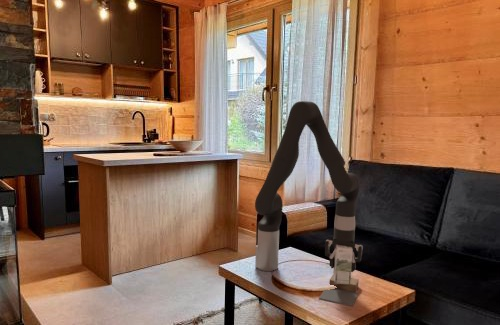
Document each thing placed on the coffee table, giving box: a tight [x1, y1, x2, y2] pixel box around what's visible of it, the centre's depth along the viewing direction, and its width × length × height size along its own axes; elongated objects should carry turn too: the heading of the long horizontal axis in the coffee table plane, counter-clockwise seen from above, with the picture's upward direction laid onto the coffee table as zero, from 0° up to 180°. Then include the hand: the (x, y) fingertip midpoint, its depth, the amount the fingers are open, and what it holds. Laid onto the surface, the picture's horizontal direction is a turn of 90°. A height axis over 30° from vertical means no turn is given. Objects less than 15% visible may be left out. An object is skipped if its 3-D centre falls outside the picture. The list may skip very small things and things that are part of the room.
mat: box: [318, 288, 359, 307], centre depth 136 cm, size 12×11×1 cm
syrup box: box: [332, 244, 354, 285], centre depth 139 cm, size 6×6×14 cm
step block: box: [329, 274, 360, 293], centre depth 144 cm, size 10×6×3 cm, turn 64°
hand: (342, 269), depth 139 cm, fingers closed on syrup box, 7 cm apart
